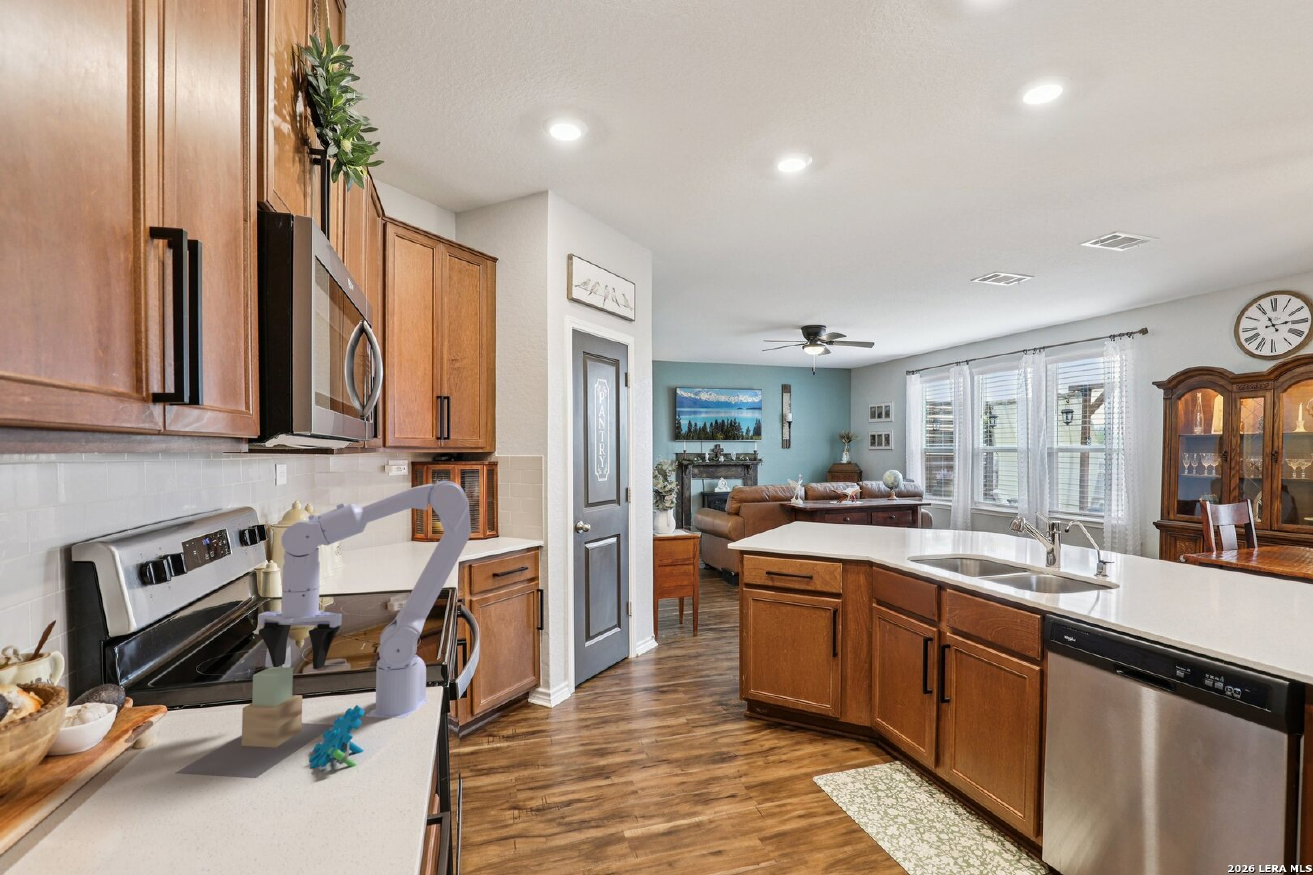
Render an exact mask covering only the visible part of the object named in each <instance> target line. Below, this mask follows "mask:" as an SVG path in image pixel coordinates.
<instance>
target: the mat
mask: <svg viewBox="0 0 1313 875" xmlns="http://www.w3.org/2000/svg"><path fill="white" fill-rule="evenodd" d="M333 726H334V724H329V723H328V724H327V723H326V724H325V723H308V722H307V723H305V722H302V731H301V732H299V733H298V734H296V735H295V736H293V737H292V738H290V739H288V740H287V741H285V742H284V743H282V744H281V745H279V746H277V747H276V748H275V747H257V746H241V745H242V734H241V735H239V736H237V737H236V738H234V739H232V740H231V741H228V742H227V743H226V744H223V745H221V746H220V747H218V748H216V749H215V750H213V751H211V752H209V753H208V754H205V755H204V756H202V757H200V758H199V759H197V760H195V761H193V762H191V763H189V764H188V765H186V766H185V767H183V768H181V769H178V770H177V771H175V772H174V773H175V774H180V775H181V774H182V775H183V774H184V775H198V776H199V775H201V776H218V777H232V778H233V777H234V778H235V777H236V778H249V779H251V778H252V779H253V778H254V779H256V778H259V776H261V775H262V774H264V773H265V772H267V771H268V770H270V769H272V768H273V767H275V766H276V765H277V764H279V763H281V762H282V761H283V760H285V759H287V757H290V756H291V755H292V754H294V753H295V752H297V751H298V750H300V749H301V748H303V747H305V746H306V745H307V744H309V743H310V742H312V741H313V740H314V739H317V738H318V737H319V736H320V735H321V736H322V735H323V734H324V733H325V732H326V730H327V729H329V730H330V729H332V728H333Z"/></svg>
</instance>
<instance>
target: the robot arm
mask: <svg viewBox="0 0 1313 875" xmlns="http://www.w3.org/2000/svg"><path fill="white" fill-rule="evenodd" d="M429 505H430V507H431V508H432V509H433V511H434V512H435V513H436V515H437V516H438V518H439V522H440V524H441V528H442V530H443V534H442V536H441V537H440V539H439V541H438V543H437V545H436V546H435V549H434V550H433V552H432V554H431V555H430V557H429V559H428V561H427V563H426V564H425V566H424V568H423V569H422V572H421V573H420V575H419V577H418V579H417V580H416V583H415V585H414V586H413V588H412V590H411V593H410V594H409V596H408V598H407V599H406V601H405V603H404V604H403V607H402V608H401V609H400V611H399V612H397V614H396V617H395V618H394V619H393V621H392V622H391V623H389V624H388V625H387V626H385V627H384V628H383V630H382V631H381V633H380V636H379V645H380V646H379V650H378V655H379V660H377V662H376V670H375V671H376V674H375V675H376V677H375V678H376V679H375V680H376V682H375V683H376V684H375V708H373V709H372V710H371V711H369V712H368V713H367V714H364V715H365V717H369V718H370V717H372V718H390V719H391V718H392V719H407V718H408V717H410V716H411V715H412V714H414V712H416V711H417V710H418V709H419V708H421V707H422V706H423V705H425V704H426V703H427V702H428V701H429V700H430V699H431V698H430V697H427V667H426V663H425V661H424V660H423V659H422V658H421V657H420V656H418V654H417V651H418V648H417V647H418V640H419V638H420V636H421V634H422V631H423V628H424V625H425V623H426V619H427V618H428V616H429V614H430V612H431V610H432V608H433V607H434V604H435V603H436V601H437V599H438V597H439V595H440V594H441V591H442V589H443V588H444V586H445V584H446V582H447V580H448V578H449V577H450V575H451V573H452V571H453V569H454V567H455V565H456V563H457V561H459V558H460V556H461V554H462V552H463V551H464V548H465V547H466V545H467V543H468V541H469V539H470V538H471V534H472V526H471V517H470V515H471V514H470V500H469V499H468V497H467V495H466V492H465V491H464V489H463V488H462V487H461V486H460V485H459V484H458V483H456V482H454V481H450V480H439V481H437V482H435V483H434V484H432V483H428V484H422V485H418V486H414V487H410V488H408V489H406V490H402V491H400V492H397V493H395V494H393V495H389V496H387V497H385V498H383V499H379V500H377V501H374V502H371V503H369V504H366V505H364V506H359V505H357V504H354V503H348V504H346V503H345V502H341V503H339V504H337V505H336V508H334V509H332V510H329V511H326V512H323V513H321V514H318V515H316V514H315V513H313V514H310V515H308V516H307V519H308V520H299V521H296V522H295V523H292V525H290V526H289V527H288V526H287V528H286V529H285V530H284V532H283V533H282V536H281V545H282V547H283V549H284V554H283V561H284V562H283V564H282V578H281V579H282V582H281V583H282V584H281V585H282V587H281V594H282V595H281V611H280V610H279V611H265V612H262V613H259V614H258V621H257V622H258V626H263V628H260V629H258V635H259V636H260V638H261V639H262V640H263V642H264V644H265V645H266V649H267V650H268V654H269V656H270V660H271V664H272V667H280V666H281V667H282V665H285V664H286V660H287V659H286V658H287V644H288V638H289V635H290V634H289V633H290V629H291V626H311V627H312V626H313V627H314V628H313V629H312V628H311V629H310V630H308V636H309V638H310V641H311V647H312V648H311V649H312V668H313V670H319V669H320V668H323V667H324V666H325V664H326V660H327V657H328V653H329V650H330V647H331V645H332V642H333V641H334V639H335V636H336V635H337V633H338V632H339V630H340V627H341V625H342V619H343V616H342V615H343V614H342V613H337V612H336V613H334V612H329V611H322V610H320V577H321V576H320V574H321V572H320V570H321V562H320V560H319V557H320V553H319V552H320V548H319V546H320V545H323V546H329V545H332V544H335V543H337V542H340V541H343V540H345V539H348V538H350V537H353V536H356V535H359V534H361V533H363V532H364V530H366V529H365V528H366V527H367V525H368V524H369V523H370V522H371V523H372V522H374V521H377V520H379V519H383V518H385V517H388V516H391V515H393V514H397V513H400V512H403V511H406V510H409V509H416V510H424V511H428V510H429Z"/></svg>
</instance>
